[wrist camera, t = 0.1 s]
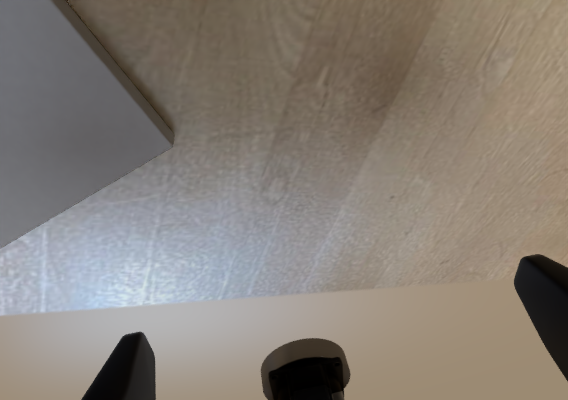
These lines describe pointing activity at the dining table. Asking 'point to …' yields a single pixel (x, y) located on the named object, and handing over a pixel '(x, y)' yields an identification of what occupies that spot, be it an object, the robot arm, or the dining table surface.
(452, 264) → the dining table surface
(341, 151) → the dining table surface
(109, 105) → the coffee maker
